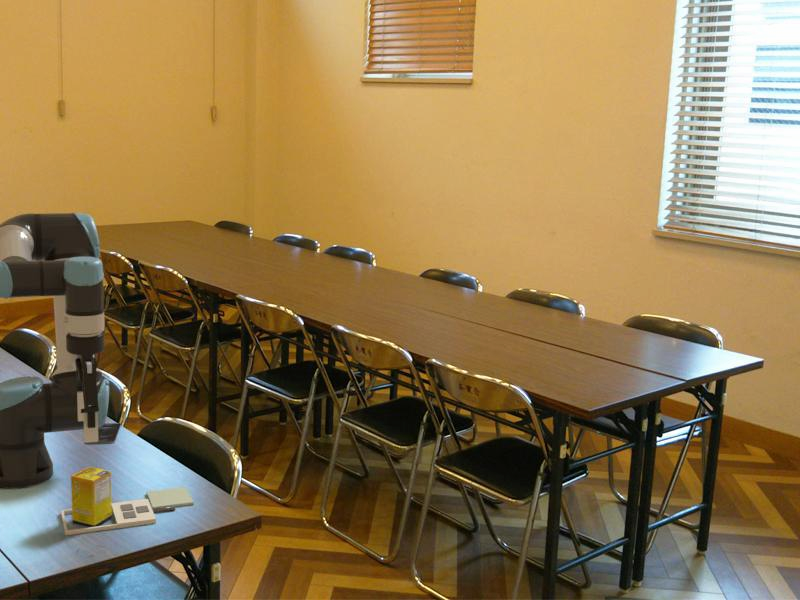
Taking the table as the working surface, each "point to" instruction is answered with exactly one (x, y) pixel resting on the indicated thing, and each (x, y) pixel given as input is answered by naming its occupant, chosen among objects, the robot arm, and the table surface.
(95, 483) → the supplement box
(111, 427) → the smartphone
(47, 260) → the robot arm
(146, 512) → the white rectangular frame panel
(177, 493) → the mat
